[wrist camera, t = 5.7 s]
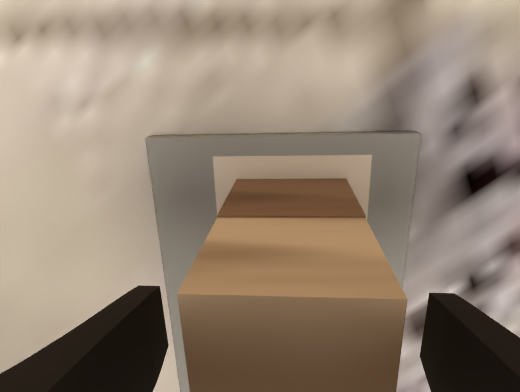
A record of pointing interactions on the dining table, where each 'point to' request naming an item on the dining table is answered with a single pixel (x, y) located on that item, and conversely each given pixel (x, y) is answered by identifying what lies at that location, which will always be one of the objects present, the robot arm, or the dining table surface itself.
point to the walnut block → (291, 199)
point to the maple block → (291, 308)
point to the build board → (273, 167)
